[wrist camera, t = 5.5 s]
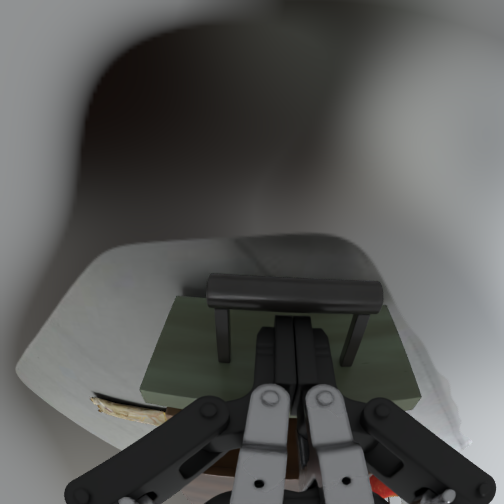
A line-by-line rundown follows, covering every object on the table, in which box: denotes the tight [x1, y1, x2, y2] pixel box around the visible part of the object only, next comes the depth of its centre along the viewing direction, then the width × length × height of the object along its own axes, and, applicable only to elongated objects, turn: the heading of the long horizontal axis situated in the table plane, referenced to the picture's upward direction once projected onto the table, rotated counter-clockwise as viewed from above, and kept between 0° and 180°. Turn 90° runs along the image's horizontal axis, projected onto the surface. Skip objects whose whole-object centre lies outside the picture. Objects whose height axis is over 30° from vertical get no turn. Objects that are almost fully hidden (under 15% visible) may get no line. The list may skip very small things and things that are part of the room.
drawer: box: [140, 273, 421, 470], centre depth 17 cm, size 17×13×7 cm
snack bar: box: [90, 397, 167, 426], centre depth 28 cm, size 10×2×3 cm
